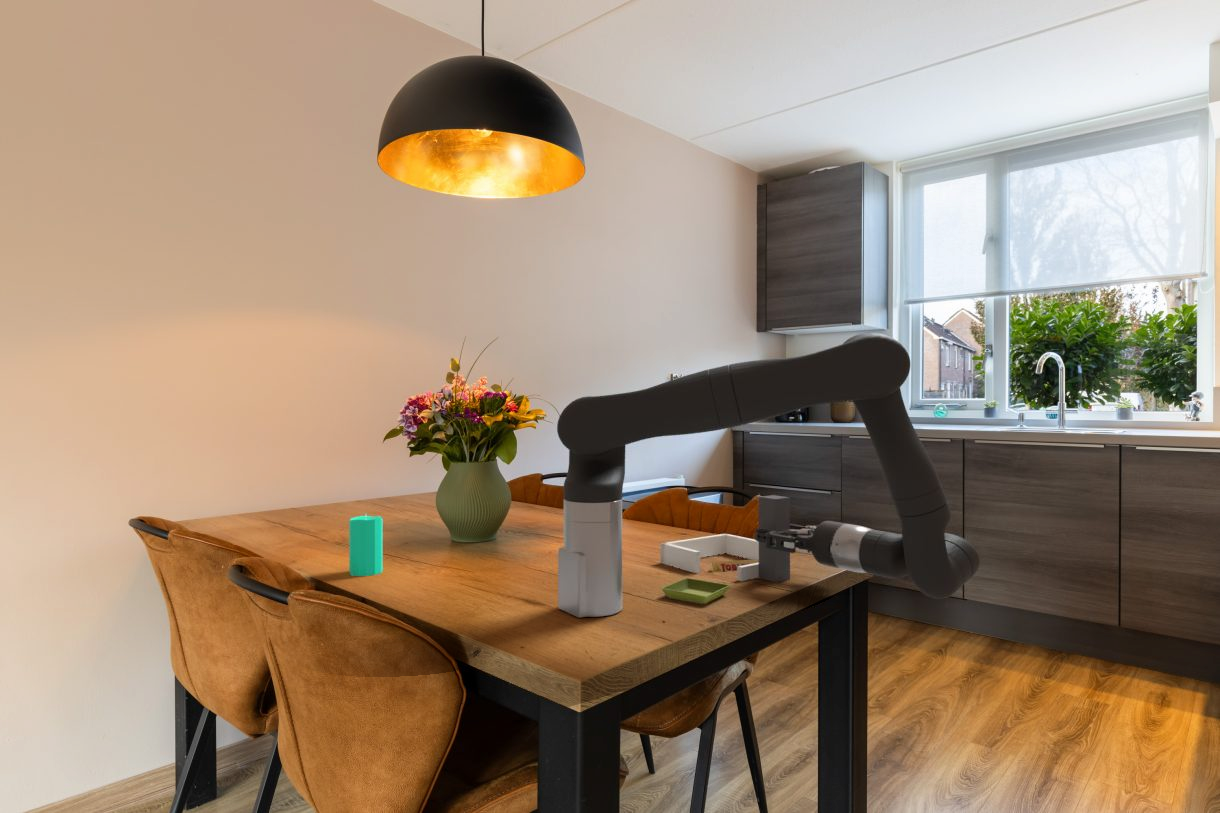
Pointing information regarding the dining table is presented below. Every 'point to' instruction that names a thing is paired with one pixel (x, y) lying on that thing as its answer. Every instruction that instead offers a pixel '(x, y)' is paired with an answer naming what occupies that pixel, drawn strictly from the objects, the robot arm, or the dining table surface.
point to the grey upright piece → (770, 560)
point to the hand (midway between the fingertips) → (772, 532)
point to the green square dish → (695, 590)
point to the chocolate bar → (730, 565)
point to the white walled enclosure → (706, 550)
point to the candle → (365, 545)
